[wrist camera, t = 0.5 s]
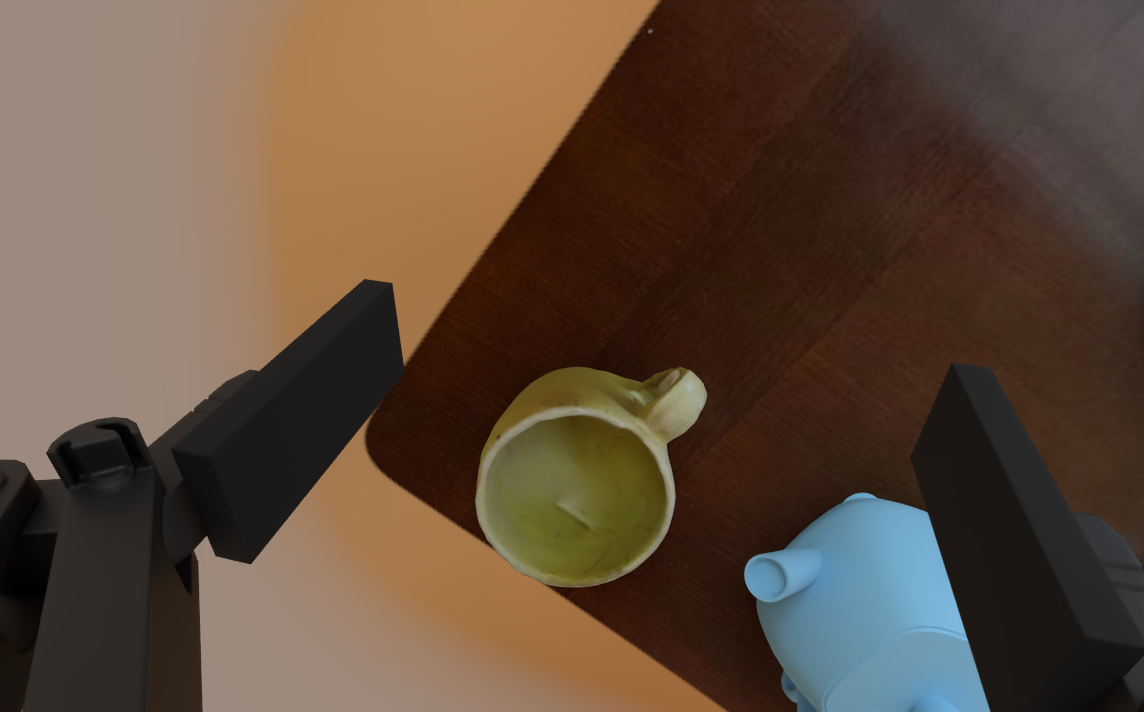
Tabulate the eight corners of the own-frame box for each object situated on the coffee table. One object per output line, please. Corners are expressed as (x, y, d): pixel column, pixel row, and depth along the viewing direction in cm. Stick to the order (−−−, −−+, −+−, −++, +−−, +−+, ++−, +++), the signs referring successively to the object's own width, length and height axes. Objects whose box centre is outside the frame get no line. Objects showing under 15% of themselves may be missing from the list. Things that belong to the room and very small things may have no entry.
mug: (559, 571, 37) (530, 646, 27) (473, 420, 38) (415, 439, 28) (742, 469, 36) (780, 508, 26) (651, 316, 37) (655, 297, 27)
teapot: (1020, 452, 34) (1189, 606, 23) (993, 652, 38) (1123, 855, 28) (726, 467, 36) (759, 612, 25) (734, 653, 41) (765, 842, 30)
